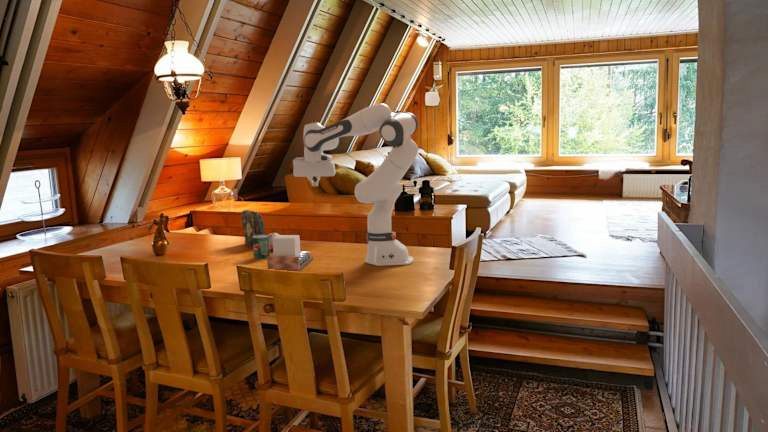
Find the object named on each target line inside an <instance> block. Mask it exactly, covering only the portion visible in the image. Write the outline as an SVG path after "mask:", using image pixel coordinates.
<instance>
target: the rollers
mask: <svg viewBox="0 0 768 432" xmlns="http://www.w3.org/2000/svg"><path fill="white" fill-rule="evenodd" d="M300 255H301V257H300V258H299V261H300V265H302V264H303V262H305V260H308V258H310V257H312V255H311V251H300Z"/></svg>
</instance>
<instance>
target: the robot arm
mask: <svg viewBox="0 0 768 432" xmlns="http://www.w3.org/2000/svg"><path fill="white" fill-rule="evenodd" d="M418 127H419V120H418V118H417V116H416V115H415V114H414V113H412V112H408V111H400V110H396V111H395V112H393V111H392V110H391V108H390V106H389V105H388V104H385V103H376V104H373V105H370V106H367V107H365V108H363V109H361V110H359V111H357V112H355V113H353V114H352V115H349V116H347V117H345V118H344V119H342V120H340V121H337V122H335V123H332V124H330V125H327V126H323V125H322V124H321V123H320V122H318V121H317V122H309V123H306V124H305V125H304V126H303V137H302V138H303V145H304V149H303V152H304V153H303V154H304V155H303V156H301V157H295V158H293V160H292V165H293V171H292V172H293V176H294V177H295V178H301V177H303V178H306V177H308V179H309V181H310V184H311V186H312V187H318V186H319V182H320V180H321V177H334V176H335V175H336V173H337V172H336V165H335V162H334V161H333V159H334V158H333V155H330V154H327V153H324V151H332V150H334V149H336V148H337V147H338V146H339V143H340V138H343V137H357V136H358V137H359V136H360V137H361V136H366V135H370V134H372V133H375V132H377V131H379V135H380V138H381V139H382V140H383V141H384V142H385V143H386V144H387V145H388V146H389V147H390V148H391V150H390V151H389V153H388V154H387V156H385V158H384V160H383V161H382V163H381V164H380V165H379V166H378V167H377V168H376V169H375V170H374V171H373V172H372V173H371V174H369V175H368V176H367V177H365V178H364V179H363V180H361V181H359V182H358V183H357V184H356V185H355V187H354V196H355V198H356V200H357V201H358V202H359V203H362V204H368V205H369V204H371V205H372V204H373V206H372V208H371V210H370V211H369V213H368V214H367V216H366V217H367V218H366V219H367V222H366V223H367V232H366V244H367V251H366V256H365V257H366V258H365V260H364V262H365V264H368V265H369V264H370V265H373V266H376V267H379V266H380V267H382V266H402V265H403V266H404V265H405V266H407V265H411V264H412V263H413V262H414V257H413V256H411V255H410V254H409V250H408V248H407V246H406V245H405V244H403V243H402V242H401V241H399V240H398V239H396V238H397V234H396V231H393V230H392V215H393V208H394V205H395V204H396V201H397V199H398V198H399V197H400V195H401V193H402V184H401V182H400V181H401V180H402V179H403V178H404V177H405V174H406V173H407V171H409V169H410V167H411V166H412V165H413V163H414V161H415V160H416V157H417V154H418V153H419V145H418V144H417V142H415V141H414V140H413V139H412V137H411V136H412V135H414V134H415V133H416V131H417V130H418V129H419V128H418ZM314 177H315V178H316V181H314V180H313V178H314Z"/></svg>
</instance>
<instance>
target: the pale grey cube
mask: <svg viewBox="0 0 768 432" xmlns="http://www.w3.org/2000/svg"><path fill="white" fill-rule="evenodd" d="M300 240H301V239H300V235H299V234H290V235H289V234H284V235H283V234H279V235H278V236H276V237H274V238H273V249H272V251H273V254H272V256H299V258H300V257H301V255H300V252H301V241H300Z"/></svg>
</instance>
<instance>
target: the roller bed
mask: <svg viewBox="0 0 768 432" xmlns="http://www.w3.org/2000/svg"><path fill="white" fill-rule="evenodd" d="M266 260H267V270H268V269H275V270H287V271H300V270H301V271H302V269H303V268H304V267H305V268H306V267H307V266H308V265H309V264H311V263H312V262H313V261H314V256H310V258H308V260H305V262H303V264H302V265H300V261H299V256H274V255H270V256H268V257H267V259H266ZM305 268H304V269H305ZM304 269H303V270H304ZM301 271H300V272H301Z"/></svg>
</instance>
